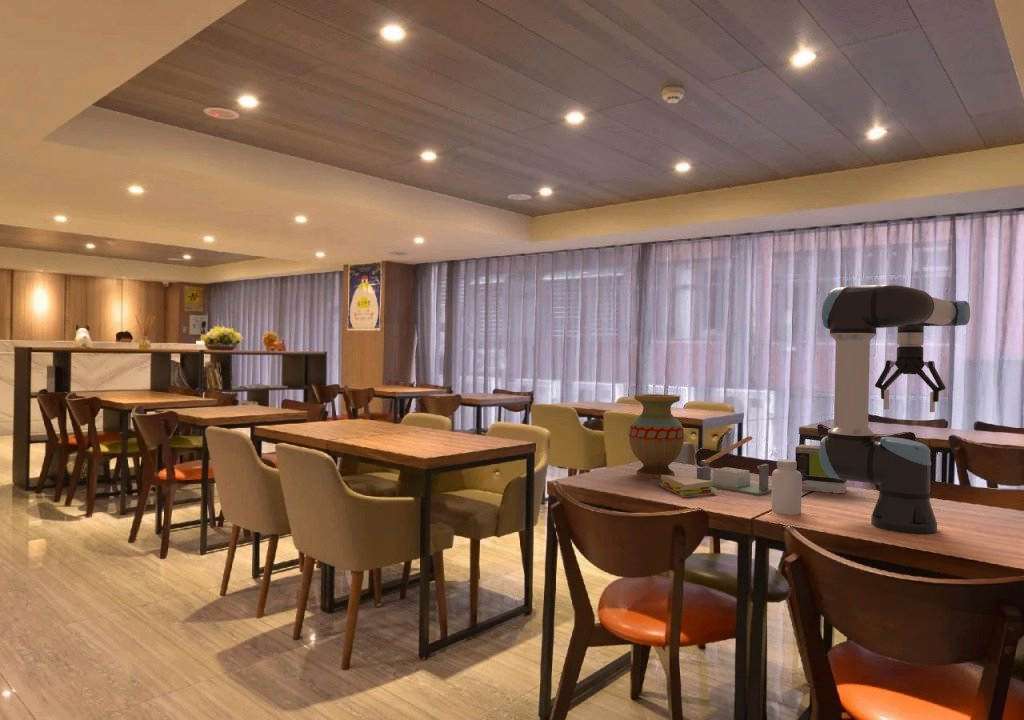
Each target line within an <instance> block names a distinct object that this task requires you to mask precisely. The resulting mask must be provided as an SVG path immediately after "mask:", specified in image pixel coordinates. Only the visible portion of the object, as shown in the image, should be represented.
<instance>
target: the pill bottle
mask: <svg viewBox="0 0 1024 720" xmlns="http://www.w3.org/2000/svg"><path fill="white" fill-rule="evenodd" d="M796 466H797V462H796V461H795V460H793V459H777V460H776V467H777V468H775V469H774V470H773V471H772V474H771V486H772V492H771V511H772V512H773V513H776V514H779V515H785V516H787V515H788V516H798V515H801V514H802V498H803V497H802V495H803V494H802V491H803V489H802V475H801V473H800V472H799V471H797V470H796V469H797V467H796Z"/></svg>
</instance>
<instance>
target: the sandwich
mask: <svg viewBox="0 0 1024 720" xmlns="http://www.w3.org/2000/svg"><path fill="white" fill-rule="evenodd" d="M660 480H661V482H659V484H660V487H662V488H664V489H666V490H668V491H670V492H673V493H674V494H676V495H678V496H680V497H682V498H690V497H697V496H707V495H709V496H710V495H715V491H714V490H718V489H717V488H714V487H709V486H713V481H708V480H700V479H692V478H691V477H683V476H676V475H675V476H668V475H661V478H660Z"/></svg>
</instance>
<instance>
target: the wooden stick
mask: <svg viewBox="0 0 1024 720" xmlns="http://www.w3.org/2000/svg"><path fill="white" fill-rule="evenodd" d="M753 439H754V438H753V436H751V435H750V436H747V437H744V438H742V439H741V440H739V441H737V442H735V443H734V444H732V445H730V446H728V447H726V448H724V449H722V450H721V451H719V452H717V453H716V454H714V455H712V456H710V457H709V458H706V459H704V460H703V459H701V460H699V461H698V466H699V467H704V466H705V467H709V466H710V463H712V462H713V461H715V460H717V459H719V458H721V457H722V456H724V455H726V454H728V453H730V452H732V451H733V450H736V449H737V448H740V447H741V446H743V445H744V444H746V443H748V442H750V441H752V440H753Z"/></svg>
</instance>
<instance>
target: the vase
mask: <svg viewBox="0 0 1024 720" xmlns="http://www.w3.org/2000/svg"><path fill="white" fill-rule="evenodd" d="M680 397H681V396H680V395H677V394H676V395H673V394H653V393H651V394H650V393H648V394H647V393H641V394H640V393H639V394H634V397H633V398H634V400H635V401H638V402H639V403H640V404H641V405H642V411H641V413H640V415H638V416H637V417H636V418H635V419H634V420H633V421H631V423H630V426H629V429H628V442H629V445H630V449H631V450H632V453H633V455H634V456H635V457H636V458H637V459H638V461H640V463H641V464H642V467H640V468H638V469H637V470H636V475H637V476H639V477H643V478H649V479H661V475H668V476H676V472H675V471H673V470H672V469H671V468H669V466H670V465H671V464H672V463H673V462H674V461H675V460H676V459H677V458H678V457H679V455H680V454H681V452H682V449H683V445H684V442H685V440H684V439H685V431H684V430H685V429H684V427H683V425H682V423H681V422H680V421H679V420H678V419H677V418H676V417H675V416H674V415H673V414H672V410H671V409H672V408H671V407H672V405H674V404H676V403H678V402H679V401H680V400H681V398H680ZM680 402H681V401H680Z"/></svg>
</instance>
